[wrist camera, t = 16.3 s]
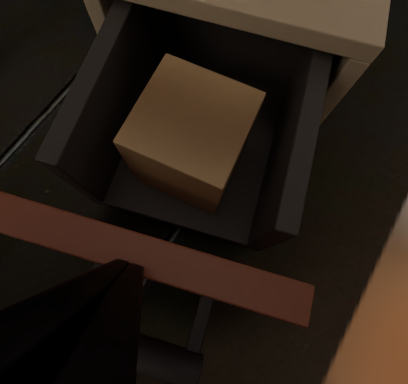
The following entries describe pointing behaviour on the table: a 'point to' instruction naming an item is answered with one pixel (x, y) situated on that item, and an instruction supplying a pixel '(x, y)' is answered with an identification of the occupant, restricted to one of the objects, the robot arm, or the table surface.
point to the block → (189, 131)
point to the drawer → (168, 205)
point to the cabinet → (293, 28)
